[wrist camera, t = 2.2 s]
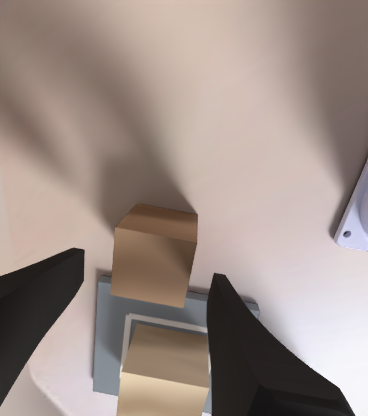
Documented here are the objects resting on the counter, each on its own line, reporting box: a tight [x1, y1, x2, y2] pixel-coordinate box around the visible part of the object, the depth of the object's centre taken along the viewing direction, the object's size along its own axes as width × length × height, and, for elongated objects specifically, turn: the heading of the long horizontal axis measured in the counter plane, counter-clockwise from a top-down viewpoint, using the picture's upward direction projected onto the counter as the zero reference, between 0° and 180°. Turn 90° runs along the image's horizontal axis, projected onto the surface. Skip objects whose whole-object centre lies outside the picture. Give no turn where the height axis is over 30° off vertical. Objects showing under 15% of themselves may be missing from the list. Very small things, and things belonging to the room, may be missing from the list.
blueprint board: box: [93, 276, 260, 414], centre depth 20 cm, size 13×13×1 cm
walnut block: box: [110, 204, 198, 308], centre depth 15 cm, size 4×4×4 cm
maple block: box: [117, 324, 209, 416], centre depth 18 cm, size 6×6×4 cm
